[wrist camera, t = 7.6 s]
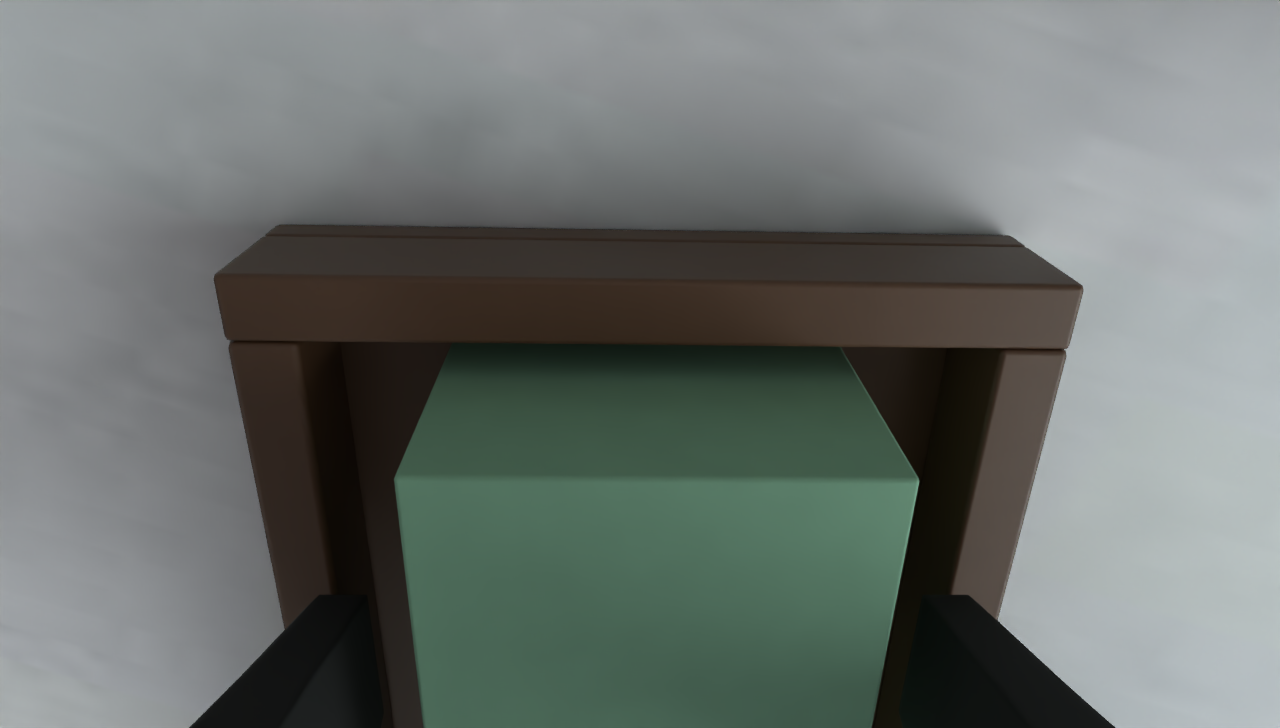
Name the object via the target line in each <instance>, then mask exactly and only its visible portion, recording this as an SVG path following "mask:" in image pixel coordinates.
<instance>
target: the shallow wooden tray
mask: <svg viewBox="0 0 1280 728" xmlns="http://www.w3.org/2000/svg"><path fill="white" fill-rule="evenodd" d="M214 284H215V289H216V294H217V299H218V304H219V309H220V314H221V319H222V324H223V329H224V334H225V337H226V339H227V340H230V344H229V354H230V359H231V363H232V368H233V373H234V378H235V383H236V388H237V393H238V398H239V403H240V408H241V413H242V418H243V423H244V428H245V433H246V438H247V443H248V448H249V453H250V458H251V463H252V468H253V473H254V478H255V483H256V488H257V493H258V498H259V503H260V508H261V513H262V518H263V523H264V528H265V533H266V538H267V543H268V548H269V553H270V558H271V563H272V568H273V573H274V578H275V583H276V588H277V593H278V598H279V603H280V608H281V613H282V618H283V623H284V628H285V629H286V628H287V627H288V626H289V625H290V624H291V623H292V622H293V621H294V620H295V619H296V617H297V616H298V615H299V614H300V613H301V612H302V611H303V610H304V609H305V608H306V607H307V606H308V605H309V604H310V603H311V602H312V601H313V600H314V599H315V598H316V597H317V596H318V595H367V597H368V604H369V611H370V618H371V625H372V632H373V639H374V646H375V653H376V660H377V667H378V674H379V681H380V688H381V695H382V701H383V708H384V715H383V719H382V724H381V728H423V720H422V712H421V703H420V695H419V687H418V678H417V670H416V661H415V653H414V644H413V636H412V627H411V619H410V610H409V602H408V593H407V585H406V576H405V568H404V560H403V551H402V543H401V534H400V526H399V517H398V509H397V500H396V492H395V483H394V478H395V475H396V473H397V470H398V468H399V466H400V463H401V461H402V459H403V456H404V454H405V452H406V449H407V447H408V445H409V442H410V440H411V438H412V435H413V433H414V431H415V428H416V426H417V424H418V421H419V419H420V417H421V414H422V412H423V410H424V407H425V405H426V403H427V400H428V398H429V396H430V393H431V391H432V389H433V386H434V384H435V382H436V379H437V377H438V375H439V372H440V370H441V368H442V365H443V363H444V361H445V358H446V356H447V354H448V351H449V349H450V347H451V344H452V343H526V344H624V345H723V346H821V347H841V349H842V350H843V352H844V354H845V355H846V357H847V359H848V360H849V362H850V364H851V365H852V367H853V369H854V370H855V372H856V374H857V375H858V377H859V379H860V381H861V382H862V384H863V386H864V387H865V389H866V391H867V392H868V394H869V396H870V397H871V399H872V401H873V402H874V404H875V406H876V407H877V409H878V411H879V413H880V414H881V416H882V418H883V419H884V421H885V423H886V424H887V426H888V428H889V429H890V431H891V433H892V434H893V436H894V438H895V439H896V441H897V443H898V445H899V446H900V448H901V450H902V451H903V453H904V455H905V456H906V458H907V460H908V461H909V463H910V465H911V466H912V468H913V470H914V472H915V473H916V475H917V477H918V479H919V486H918V491H917V496H916V501H915V506H914V512H913V517H912V522H911V527H910V532H909V537H908V543H907V548H906V553H905V558H904V563H903V568H902V574H901V579H900V584H899V589H898V594H897V599H896V605H895V610H894V615H893V620H892V625H891V631H890V636H889V641H888V646H887V651H886V656H885V662H884V667H883V672H882V677H881V682H880V687H879V693H878V698H877V703H876V708H875V713H874V718H873V724H872V728H903V726H902V722H901V718H900V714H899V710H898V709H899V704H900V700H901V695H902V690H903V685H904V681H905V676H906V671H907V666H908V661H909V657H910V652H911V647H912V642H913V637H914V633H915V628H916V623H917V618H918V613H919V609H920V604H921V599H922V595H969V596H970V597H972V598H973V599H974V600H975V601H976V602H977V603H978V604H980V605H981V606H982V607H983V608H984V609H985V610H986V611H987V612H988V613H990V614H991V615H992V616H993V617H994V618H995V619H996V620H998V616H999V612H1000V608H1001V604H1002V601H1003V597H1004V593H1005V589H1006V585H1007V581H1008V578H1009V574H1010V570H1011V566H1012V562H1013V558H1014V555H1015V551H1016V547H1017V543H1018V539H1019V535H1020V532H1021V528H1022V524H1023V520H1024V516H1025V512H1026V509H1027V505H1028V501H1029V497H1030V493H1031V490H1032V486H1033V482H1034V478H1035V474H1036V470H1037V467H1038V463H1039V459H1040V455H1041V451H1042V447H1043V444H1044V440H1045V436H1046V432H1047V428H1048V424H1049V421H1050V417H1051V413H1052V409H1053V405H1054V401H1055V398H1056V394H1057V390H1058V386H1059V382H1060V378H1061V375H1062V371H1063V367H1064V363H1065V359H1066V351H1065V350H1064V349H1065V348H1068V346H1069V344H1070V340H1071V336H1072V333H1073V329H1074V325H1075V321H1076V317H1077V313H1078V310H1079V306H1080V302H1081V298H1082V294H1083V286H1082V285H1081V284H1079V283H1078V282H1076V281H1075V280H1073V279H1072V278H1070V277H1069V276H1068V275H1066V274H1065V273H1063V272H1062V271H1060V270H1059V269H1057V268H1056V267H1054V266H1053V265H1051V264H1050V263H1049V262H1047V261H1046V260H1044V259H1043V258H1041V257H1040V256H1038V255H1037V254H1035V253H1034V252H1032V251H1031V250H1030V249H1028V248H1026V247H1025V246H1024V245H1023V244H1021V243H1020V242H1018V241H1017V240H1015V239H1014V238H1013V237H1011V236H1006V235H939V234H872V233H805V232H738V231H670V230H603V229H536V228H469V227H402V226H335V225H278V226H276V227H275V228H273V229H272V230H271V231H270V232H268V233H267V234H266V236H265V237H263V238H261V239H260V240H259V241H257V242H256V243H255V244H253V245H252V246H251V247H249V248H248V249H247V250H246V251H244V252H243V253H242V254H240V255H239V256H238V257H237V258H235V259H234V260H233V261H231V262H230V263H229V264H228V265H226V266H225V267H224V268H222V269H221V270H220V271H218V272H217V273H216V274H215V276H214Z"/></svg>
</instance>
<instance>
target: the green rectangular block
mask: <svg viewBox="0 0 1280 728" xmlns="http://www.w3.org/2000/svg"><path fill="white" fill-rule="evenodd" d="M394 483H395V492H396V500H397V509H398V517H399V526H400V534H401V543H402V551H403V560H404V568H405V576H406V585H407V593H408V602H409V610H410V619H411V627H412V636H413V644H414V653H415V661H416V670H417V678H418V687H419V695H420V703H421V712H422V720H423V728H872V724H873V718H874V713H875V708H876V703H877V698H878V693H879V687H880V682H881V677H882V672H883V667H884V662H885V656H886V651H887V646H888V641H889V636H890V631H891V625H892V620H893V615H894V610H895V605H896V599H897V594H898V589H899V584H900V579H901V574H902V568H903V563H904V558H905V553H906V548H907V543H908V537H909V532H910V527H911V522H912V517H913V512H914V506H915V501H916V496H917V491H918V486H919V479H918V477H917V475H916V473H915V472H914V470H913V468H912V466H911V465H910V463H909V461H908V460H907V458H906V456H905V455H904V453H903V451H902V450H901V448H900V446H899V445H898V443H897V441H896V439H895V438H894V436H893V434H892V433H891V431H890V429H889V428H888V426H887V424H886V423H885V421H884V419H883V418H882V416H881V414H880V413H879V411H878V409H877V407H876V406H875V404H874V402H873V401H872V399H871V397H870V396H869V394H868V392H867V391H866V389H865V387H864V386H863V384H862V382H861V381H860V379H859V377H858V375H857V374H856V372H855V370H854V369H853V367H852V365H851V364H850V362H849V360H848V359H847V357H846V355H845V354H844V352H843V350H842V349H841V347H821V346H723V345H624V344H526V343H452V344H451V347H450V349H449V351H448V354H447V356H446V358H445V361H444V363H443V365H442V368H441V370H440V372H439V375H438V377H437V379H436V382H435V384H434V386H433V389H432V391H431V393H430V396H429V398H428V400H427V403H426V405H425V407H424V410H423V412H422V414H421V417H420V419H419V421H418V424H417V426H416V428H415V431H414V433H413V435H412V438H411V440H410V442H409V445H408V447H407V449H406V452H405V454H404V456H403V459H402V461H401V463H400V466H399V468H398V470H397V473H396V475H395V478H394Z"/></svg>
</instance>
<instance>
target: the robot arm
mask: <svg viewBox="0 0 1280 728" xmlns="http://www.w3.org/2000/svg"><path fill="white" fill-rule="evenodd" d="M898 710H899V714H900V718H901V722H902V726H903V728H1115V727H1114V726H1113V725H1112V724H1111V723H1109V722H1108V721H1107V720H1106V719H1105V718H1104V717H1103V716H1101V715H1100V714H1099V713H1098V712H1097V711H1096V710H1095V709H1093V708H1092V707H1091V706H1090V705H1089V704H1088V703H1087V702H1085V701H1084V700H1083V699H1082V698H1081V697H1080V696H1079V695H1078V694H1076V693H1075V692H1074V691H1073V690H1072V689H1071V688H1070V687H1069V686H1068V685H1066V684H1065V683H1064V682H1063V681H1062V680H1061V679H1060V678H1059V677H1058V676H1057V675H1055V674H1054V673H1053V672H1052V671H1051V670H1050V669H1049V668H1048V667H1047V666H1046V665H1045V664H1043V663H1042V662H1041V661H1040V660H1039V659H1038V658H1037V657H1036V656H1035V655H1034V654H1033V653H1032V652H1030V651H1029V650H1028V649H1027V648H1026V647H1025V646H1024V645H1023V644H1022V643H1021V642H1020V641H1019V640H1018V639H1016V638H1015V637H1014V636H1013V635H1012V634H1011V633H1010V632H1009V631H1008V630H1007V629H1006V628H1005V627H1004V626H1002V625H1001V624H1000V623H999V622H998V621H997V620H996V619H995V618H994V617H993V616H992V615H991V614H990V613H988V612H987V611H986V610H985V609H984V608H983V607H982V606H981V605H980V604H978V603H977V602H976V601H975V600H974V599H973V598H972V597H970V596H969V595H922V599H921V604H920V609H919V613H918V618H917V623H916V628H915V633H914V637H913V642H912V647H911V652H910V657H909V661H908V666H907V671H906V676H905V681H904V685H903V690H902V695H901V700H900V704H899V709H898ZM383 715H384V708H383V701H382V695H381V688H380V681H379V674H378V667H377V660H376V653H375V646H374V639H373V632H372V625H371V618H370V611H369V604H368V597H367V595H318V596H317V597H316V598H315V599H314V600H313V601H312V602H311V603H310V604H309V605H308V606H307V607H306V608H305V609H304V610H303V611H302V612H301V613H300V614H299V615H298V616H297V617H296V619H295V620H294V621H293V622H292V623H291V624H290V625H289V626H288V627H287V628H286V629H285V630H284V631H283V632H282V633H281V634H280V636H279V637H278V638H277V639H276V640H275V641H274V642H273V643H272V644H271V645H270V646H269V647H268V648H267V649H266V650H265V651H264V652H263V653H262V655H261V656H260V657H259V658H258V659H257V660H256V661H255V662H254V663H253V664H252V665H251V666H250V667H249V668H248V669H247V670H246V671H245V672H244V673H243V674H242V675H241V676H240V677H239V678H238V679H237V680H236V681H235V682H234V683H233V684H232V685H231V686H230V687H229V688H228V689H227V690H226V691H225V692H224V693H223V694H222V695H221V696H220V697H219V698H218V699H217V700H216V701H215V702H214V703H213V705H212V706H211V707H210V708H209V709H208V710H207V711H206V712H205V713H204V714H203V715H202V716H201V717H200V718H199V719H198V720H197V721H196V722H195V723H193V724H192V725H191V726H190V727H189V728H381V724H382V719H383Z"/></svg>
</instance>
